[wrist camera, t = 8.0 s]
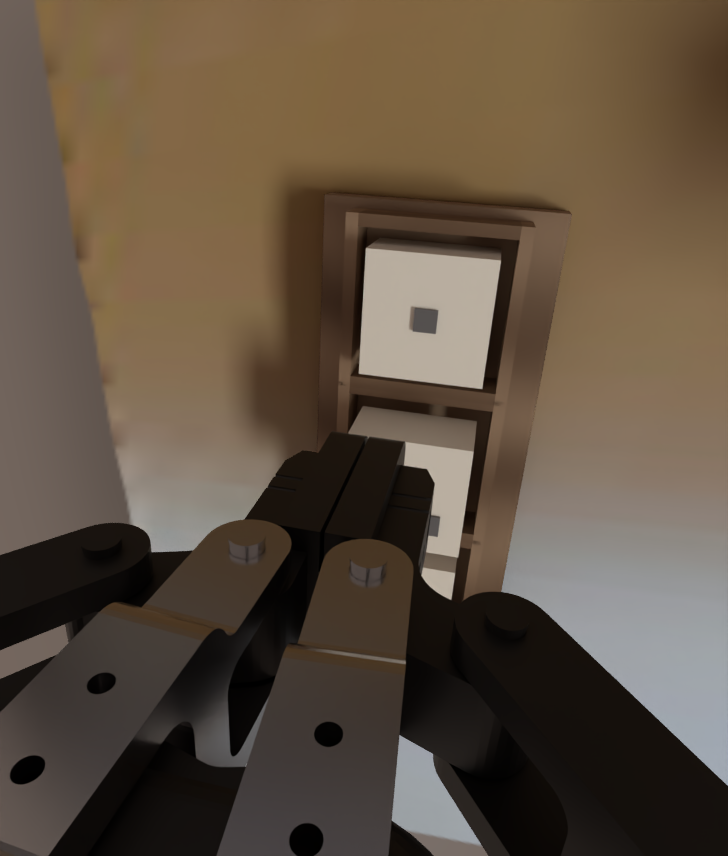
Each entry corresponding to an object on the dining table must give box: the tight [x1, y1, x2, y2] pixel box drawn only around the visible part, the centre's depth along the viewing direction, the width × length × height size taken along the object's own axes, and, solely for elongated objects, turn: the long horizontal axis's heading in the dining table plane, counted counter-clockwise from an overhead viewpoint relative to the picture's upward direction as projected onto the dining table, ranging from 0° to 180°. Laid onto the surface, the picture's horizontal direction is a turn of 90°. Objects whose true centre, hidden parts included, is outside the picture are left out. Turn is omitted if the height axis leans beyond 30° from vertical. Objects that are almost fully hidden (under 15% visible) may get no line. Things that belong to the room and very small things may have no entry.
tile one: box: [359, 238, 501, 389], centre depth 25 cm, size 5×5×3 cm
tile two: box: [348, 406, 477, 558], centre depth 27 cm, size 5×5×3 cm
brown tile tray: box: [317, 193, 572, 604], centre depth 30 cm, size 22×10×3 cm, turn 177°
